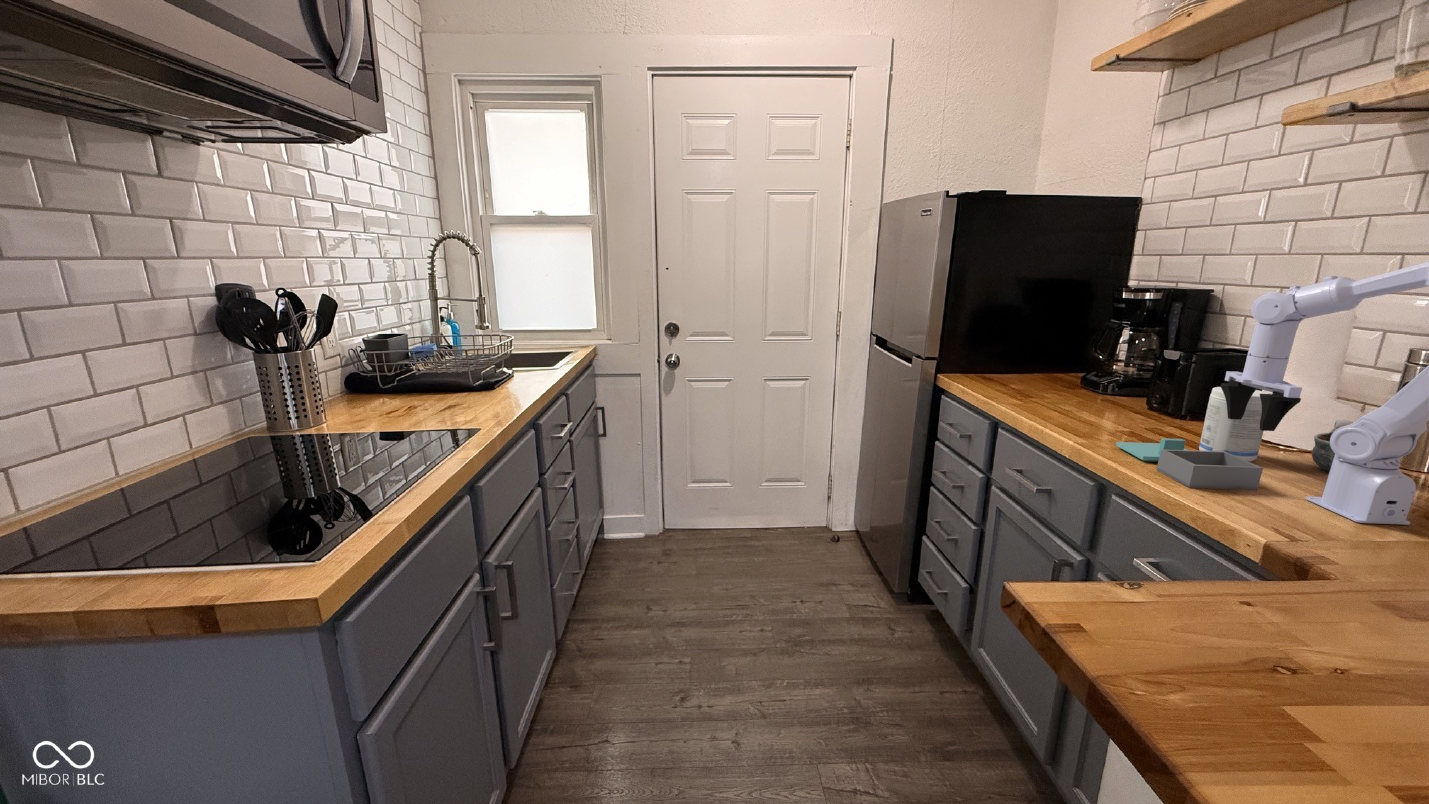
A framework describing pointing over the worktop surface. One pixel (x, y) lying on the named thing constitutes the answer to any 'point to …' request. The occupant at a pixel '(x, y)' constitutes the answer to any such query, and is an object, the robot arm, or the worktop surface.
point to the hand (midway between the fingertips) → (1250, 424)
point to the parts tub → (1209, 469)
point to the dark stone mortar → (1326, 446)
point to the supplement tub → (1232, 427)
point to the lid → (1151, 448)
